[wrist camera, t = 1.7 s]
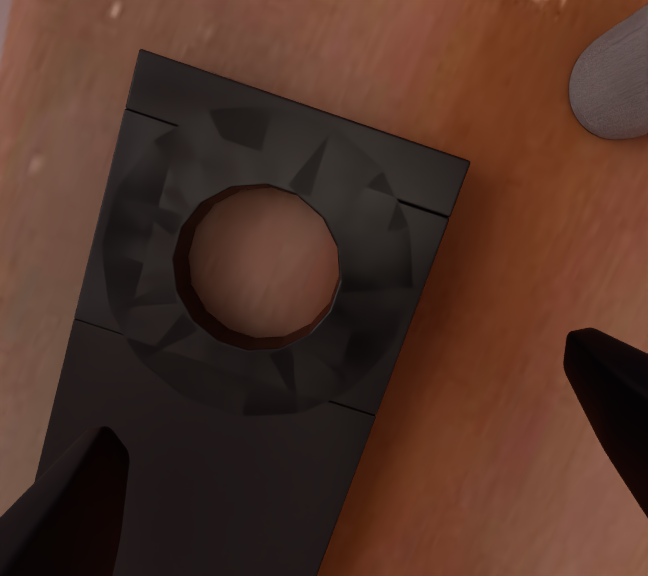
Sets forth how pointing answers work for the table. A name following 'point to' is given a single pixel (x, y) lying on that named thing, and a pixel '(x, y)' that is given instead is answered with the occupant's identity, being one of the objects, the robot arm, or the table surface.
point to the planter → (614, 81)
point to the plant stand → (232, 347)
